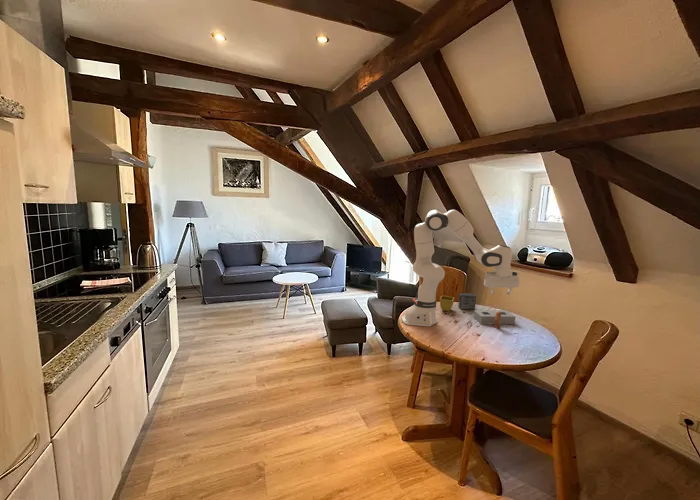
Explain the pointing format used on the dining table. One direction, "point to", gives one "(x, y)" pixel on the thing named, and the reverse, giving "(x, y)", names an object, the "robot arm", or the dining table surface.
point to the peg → (497, 319)
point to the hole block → (493, 316)
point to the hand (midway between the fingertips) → (500, 294)
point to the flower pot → (446, 303)
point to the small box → (467, 301)
